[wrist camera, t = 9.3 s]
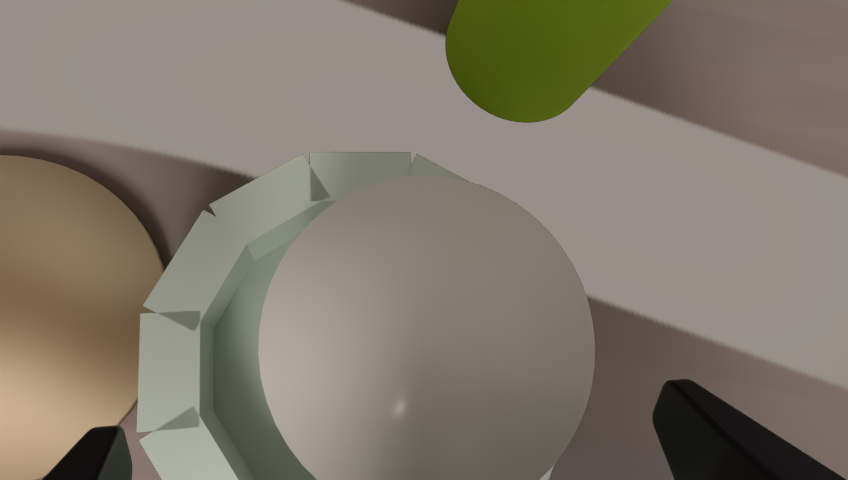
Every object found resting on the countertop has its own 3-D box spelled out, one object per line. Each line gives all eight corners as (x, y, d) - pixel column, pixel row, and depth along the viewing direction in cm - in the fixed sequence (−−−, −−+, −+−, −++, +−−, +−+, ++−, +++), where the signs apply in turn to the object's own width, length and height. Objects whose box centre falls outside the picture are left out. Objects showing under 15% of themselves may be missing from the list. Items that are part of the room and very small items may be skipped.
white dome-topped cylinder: (410, 456, 19) (551, 566, 8) (266, 412, 18) (201, 463, 7) (451, 315, 20) (624, 237, 9) (317, 270, 20) (327, 130, 9)
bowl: (550, 532, 20) (599, 563, 17) (164, 582, 18) (130, 630, 14) (513, 186, 23) (549, 152, 19) (172, 189, 20) (145, 152, 17)
